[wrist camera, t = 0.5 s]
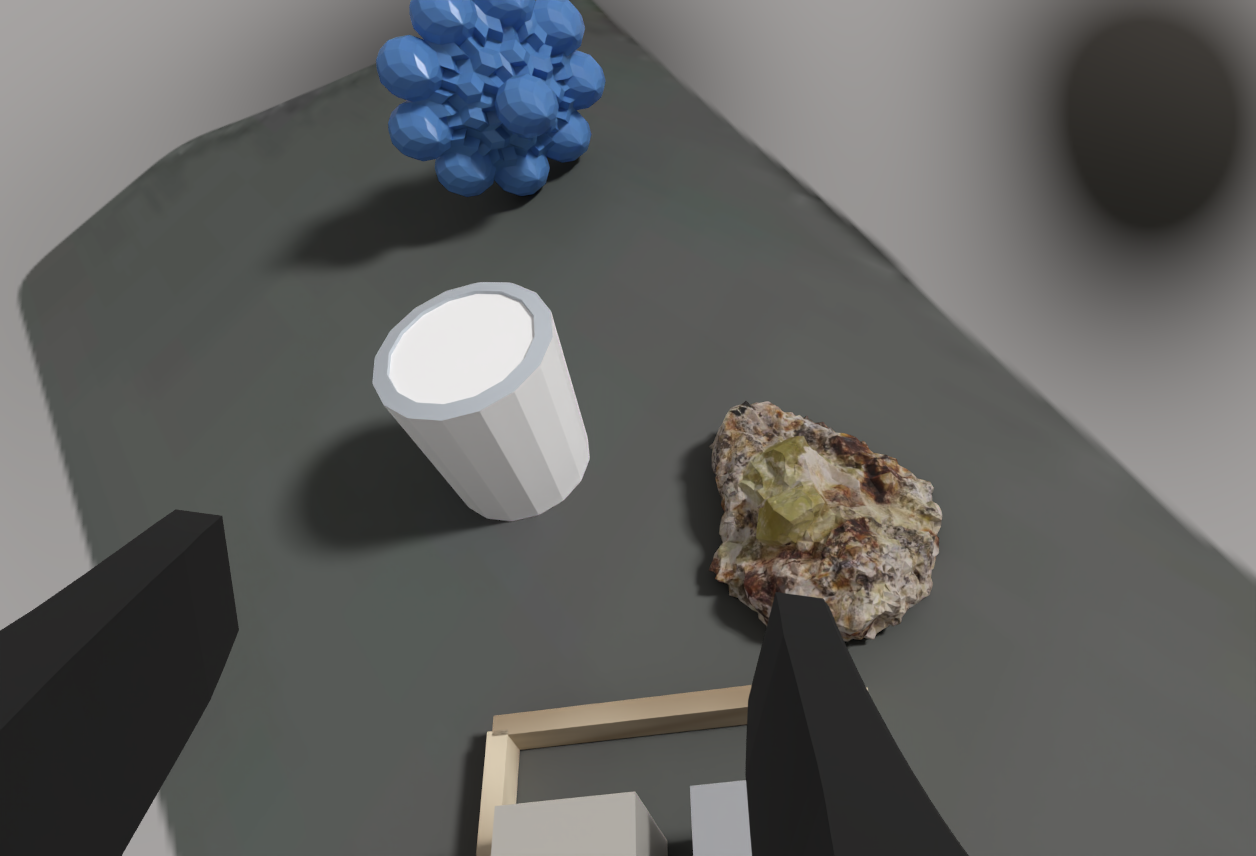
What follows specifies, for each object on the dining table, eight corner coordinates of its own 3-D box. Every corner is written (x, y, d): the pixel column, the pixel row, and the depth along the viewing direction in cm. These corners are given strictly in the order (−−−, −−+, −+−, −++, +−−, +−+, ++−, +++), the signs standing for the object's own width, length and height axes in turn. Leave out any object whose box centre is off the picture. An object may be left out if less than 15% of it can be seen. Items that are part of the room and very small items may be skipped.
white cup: (502, 566, 38) (430, 451, 33) (414, 473, 43) (338, 358, 38) (639, 454, 40) (590, 329, 35) (541, 376, 45) (485, 254, 39)
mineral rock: (1020, 541, 31) (788, 616, 29) (987, 629, 34) (774, 704, 32) (843, 346, 39) (648, 395, 37) (828, 432, 42) (647, 481, 40)
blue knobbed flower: (489, 284, 50) (385, 62, 41) (423, 232, 54) (316, 21, 45) (668, 158, 53) (608, -73, 44) (593, 118, 57) (524, -100, 48)
